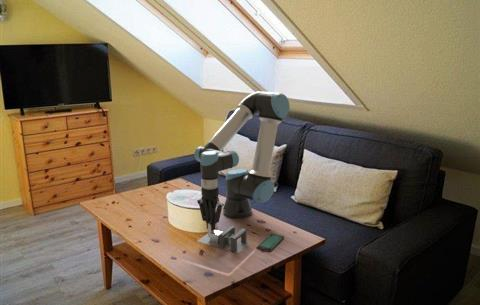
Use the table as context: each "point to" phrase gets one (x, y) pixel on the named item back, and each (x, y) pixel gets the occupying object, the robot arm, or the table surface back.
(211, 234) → the grey block
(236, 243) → the grey angular piece
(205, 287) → the table surface
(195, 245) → the table surface
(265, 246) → the smartphone
